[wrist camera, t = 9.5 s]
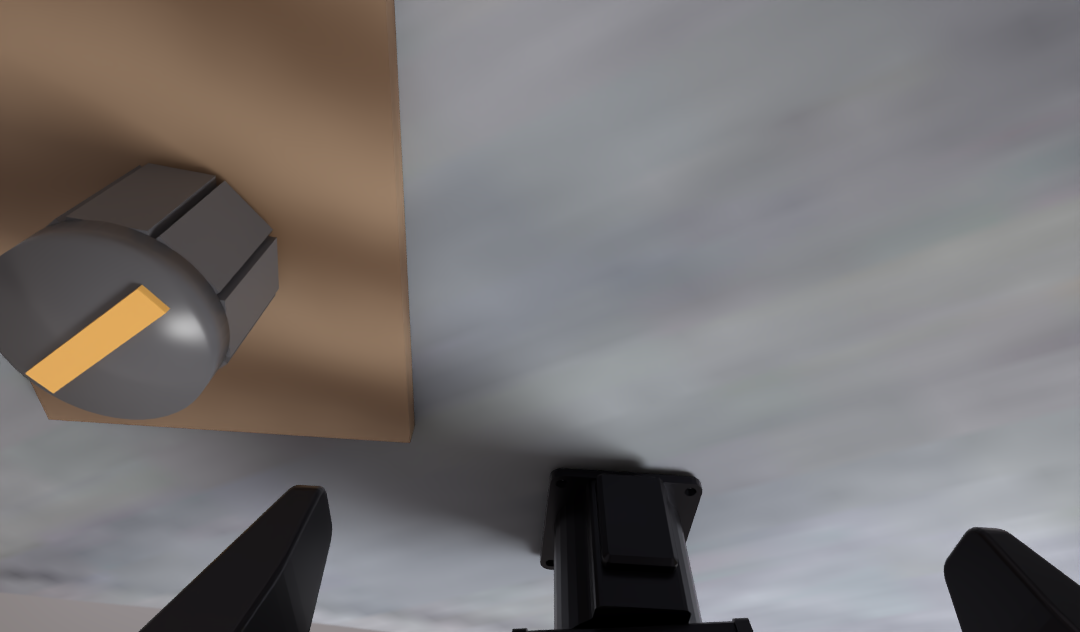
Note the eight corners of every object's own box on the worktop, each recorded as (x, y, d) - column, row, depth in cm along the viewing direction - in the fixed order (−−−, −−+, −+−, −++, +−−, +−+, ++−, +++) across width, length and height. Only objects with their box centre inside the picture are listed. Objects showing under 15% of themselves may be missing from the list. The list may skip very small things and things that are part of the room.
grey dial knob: (177, 130, 18) (57, 202, 13) (315, 270, 20) (251, 369, 16) (34, 251, 20) (-107, 347, 16) (174, 364, 22) (85, 473, 18)
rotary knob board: (414, 425, 25) (388, 527, 21) (65, 402, 25) (-32, 501, 21) (389, -105, 16) (329, -107, 11) (-191, -158, 15) (-474, -180, 11)
